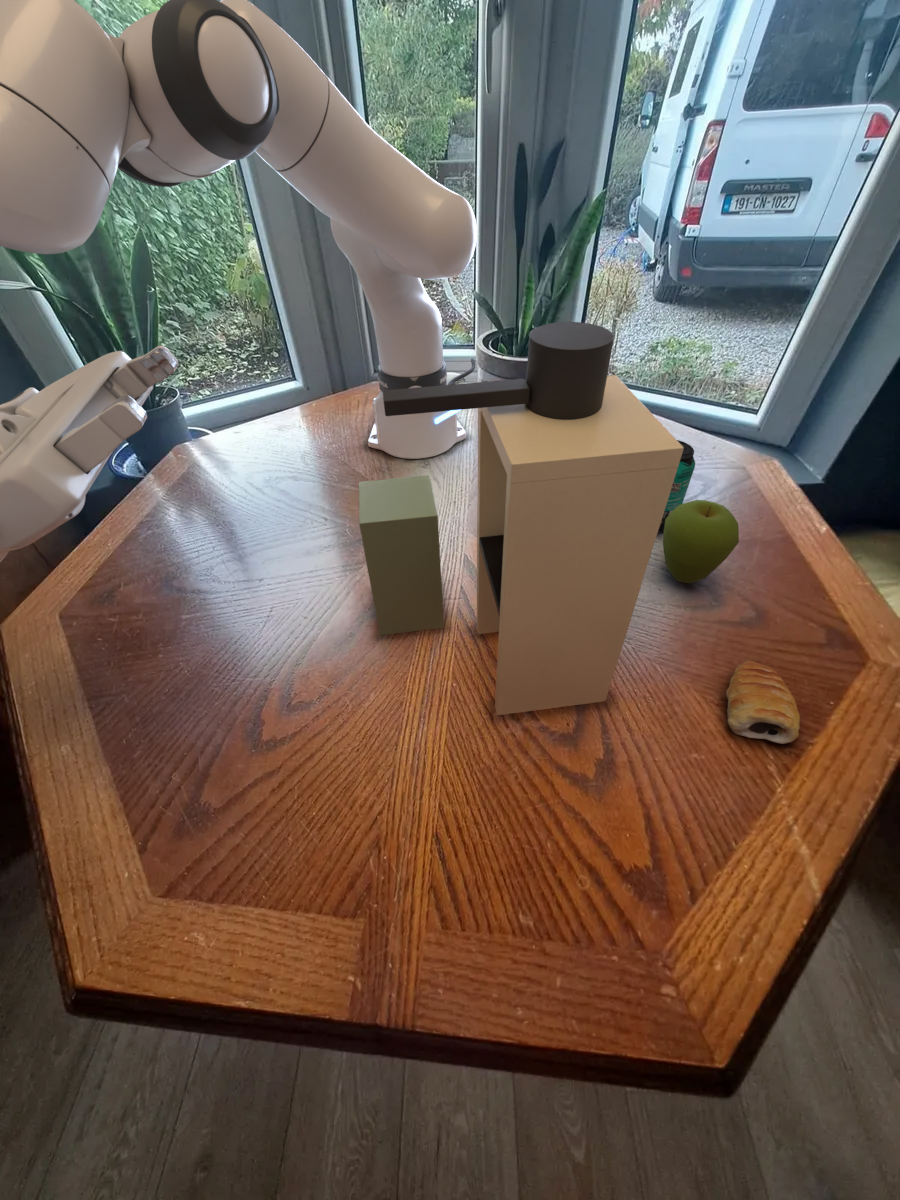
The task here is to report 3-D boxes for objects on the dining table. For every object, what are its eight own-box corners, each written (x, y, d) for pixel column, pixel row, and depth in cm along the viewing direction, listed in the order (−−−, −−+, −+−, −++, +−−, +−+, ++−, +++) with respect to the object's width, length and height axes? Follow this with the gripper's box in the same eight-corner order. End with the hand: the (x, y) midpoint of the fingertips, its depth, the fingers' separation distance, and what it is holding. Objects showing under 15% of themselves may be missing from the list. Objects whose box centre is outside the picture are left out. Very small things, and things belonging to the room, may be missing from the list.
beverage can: (630, 504, 83) (648, 433, 74) (676, 512, 81) (700, 440, 72) (624, 529, 78) (642, 456, 70) (673, 538, 76) (698, 465, 68)
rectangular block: (377, 591, 70) (358, 481, 58) (436, 585, 71) (429, 474, 59) (380, 635, 64) (359, 523, 52) (444, 628, 65) (437, 515, 53)
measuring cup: (384, 402, 42) (376, 336, 39) (587, 384, 43) (597, 319, 40) (387, 436, 38) (378, 366, 34) (613, 416, 39) (626, 345, 36)
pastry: (718, 665, 59) (730, 643, 57) (783, 678, 58) (798, 656, 55) (725, 735, 53) (738, 715, 50) (798, 752, 52) (816, 731, 49)
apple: (637, 566, 72) (658, 495, 64) (687, 551, 74) (713, 480, 66) (678, 607, 66) (706, 534, 58) (731, 589, 68) (766, 517, 60)
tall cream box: (476, 627, 65) (478, 386, 44) (570, 616, 66) (616, 374, 45) (496, 715, 56) (511, 464, 35) (605, 701, 56) (684, 447, 35)
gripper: (-127, 528, 29) (52, 403, 26) (27, 387, 44) (152, 296, 41) (-10, 596, 33) (156, 495, 30) (94, 446, 48) (212, 368, 45)
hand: (154, 380), depth 36 cm, fingers open, 8 cm apart
